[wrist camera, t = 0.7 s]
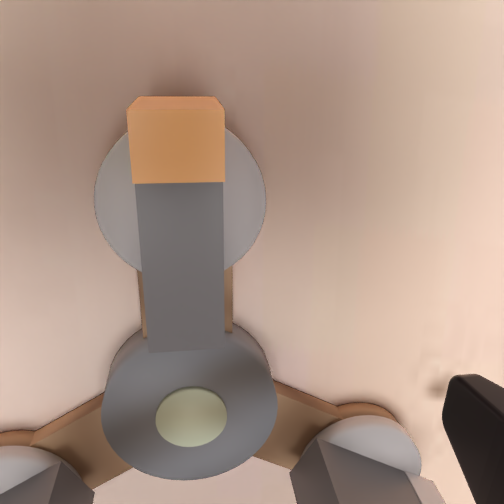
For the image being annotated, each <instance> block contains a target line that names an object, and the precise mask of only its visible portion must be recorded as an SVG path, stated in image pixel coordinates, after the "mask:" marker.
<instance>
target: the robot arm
mask: <svg viewBox="0 0 504 504" xmlns="http://www.w3.org/2000/svg"><path fill="white" fill-rule="evenodd" d="M442 421H443V425H444V428H445V431H446V433H447V436H448V438H449V440H450V443H451V445H452V448H453V450H454V452H455V455H456V457H457V459H458V462H459V464H460V467H461V469H462V471H463V474H464V476H465V478H466V481H467V483H468V486H469V488H470V490H471V493H472V495H473V497H474V500H475V502H476V504H504V388H502V387H501V386H499V385H497V384H495V383H493V382H491V381H489V380H488V379H486V378H484V377H482V376H480V375H477V374H465V375H456V376H453V377H452V378H451V380H450V382H449V385H448V390H447V394H446V398H445V402H444V407H443V411H442Z"/></svg>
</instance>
